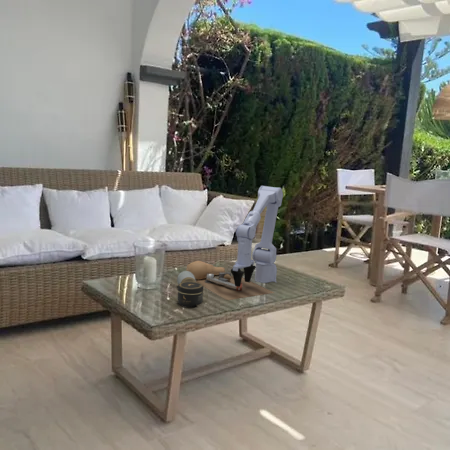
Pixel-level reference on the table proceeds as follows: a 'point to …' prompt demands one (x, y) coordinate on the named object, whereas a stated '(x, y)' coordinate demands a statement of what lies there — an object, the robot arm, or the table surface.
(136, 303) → the table surface
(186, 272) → the ceramic mug
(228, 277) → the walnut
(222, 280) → the lever
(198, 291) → the jar
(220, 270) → the squash
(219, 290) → the board
